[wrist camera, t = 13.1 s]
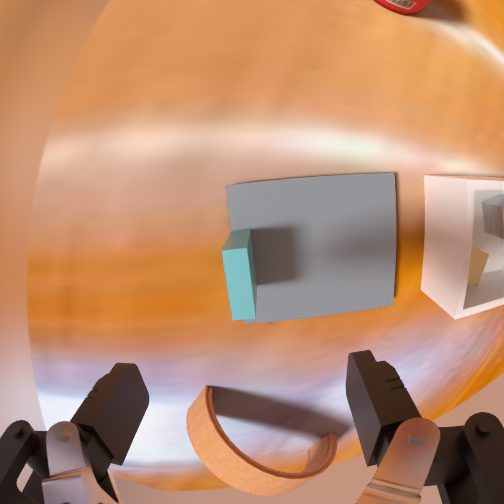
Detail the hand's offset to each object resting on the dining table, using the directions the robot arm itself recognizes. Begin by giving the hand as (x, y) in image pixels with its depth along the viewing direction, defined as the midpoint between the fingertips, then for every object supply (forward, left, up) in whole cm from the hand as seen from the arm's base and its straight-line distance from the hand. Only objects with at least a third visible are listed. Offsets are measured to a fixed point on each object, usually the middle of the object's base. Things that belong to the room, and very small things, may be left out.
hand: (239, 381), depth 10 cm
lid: (-6, 0, -17) cm, 18 cm away
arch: (+1, +24, -17) cm, 29 cm away
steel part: (-27, -2, -16) cm, 32 cm away
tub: (-24, 0, -17) cm, 30 cm away
